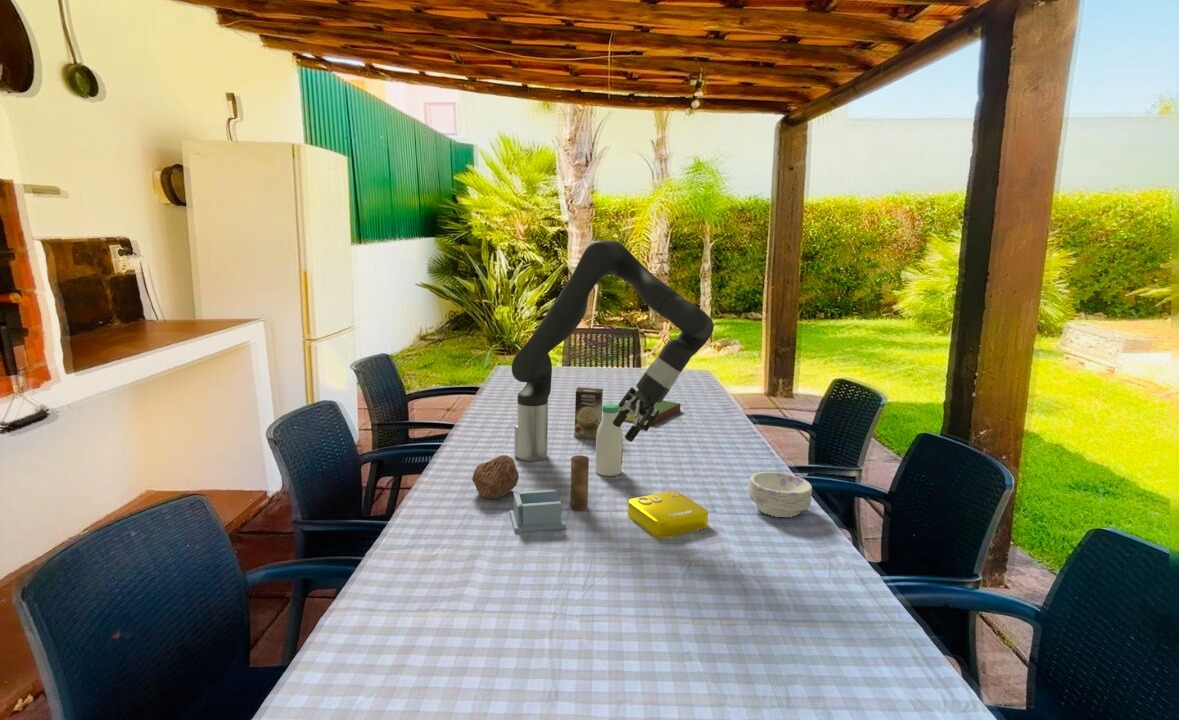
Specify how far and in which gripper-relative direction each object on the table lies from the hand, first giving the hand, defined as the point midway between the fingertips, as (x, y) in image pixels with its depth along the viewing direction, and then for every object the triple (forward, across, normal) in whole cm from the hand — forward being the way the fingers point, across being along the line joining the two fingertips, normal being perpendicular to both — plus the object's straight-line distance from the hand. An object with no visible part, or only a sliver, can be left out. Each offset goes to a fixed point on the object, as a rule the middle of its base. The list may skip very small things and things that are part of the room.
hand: (621, 432), depth 161 cm
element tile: (+11, +14, +16) cm, 24 cm away
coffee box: (+17, -54, +23) cm, 61 cm away
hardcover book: (+4, -73, +50) cm, 89 cm away
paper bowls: (-6, +17, +41) cm, 45 cm away
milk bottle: (+16, -19, +16) cm, 30 cm away
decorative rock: (+33, -13, -13) cm, 38 cm away
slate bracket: (+28, +6, -9) cm, 30 cm away
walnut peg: (+22, +1, +2) cm, 22 cm away
